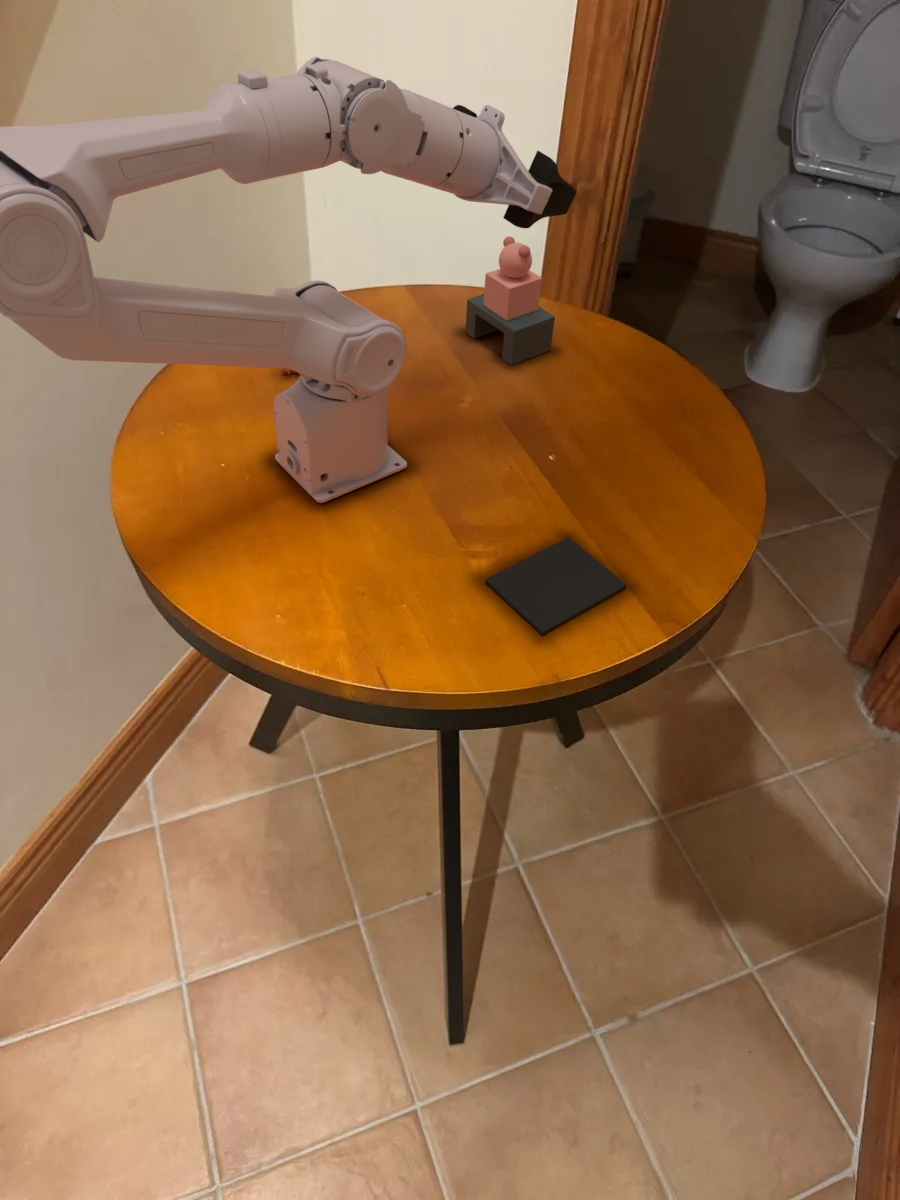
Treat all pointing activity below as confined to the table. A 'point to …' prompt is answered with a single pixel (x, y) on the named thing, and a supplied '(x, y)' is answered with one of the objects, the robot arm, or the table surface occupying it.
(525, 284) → the toy
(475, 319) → the grey step stool
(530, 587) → the mat
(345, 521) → the table surface
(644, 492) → the table surface
